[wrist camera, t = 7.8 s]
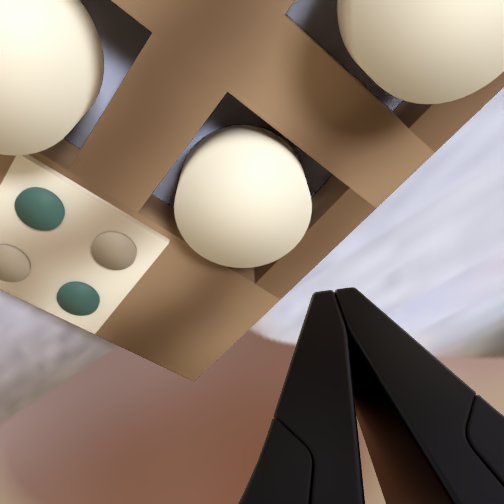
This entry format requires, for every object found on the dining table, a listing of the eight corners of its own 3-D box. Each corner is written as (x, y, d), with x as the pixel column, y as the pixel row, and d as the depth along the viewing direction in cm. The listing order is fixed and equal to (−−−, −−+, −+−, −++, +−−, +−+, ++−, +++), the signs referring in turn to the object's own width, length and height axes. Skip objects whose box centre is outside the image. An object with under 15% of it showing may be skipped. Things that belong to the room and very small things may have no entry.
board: (600, -48, 16) (655, -46, 14) (196, 353, 26) (193, 389, 24) (133, -732, 9) (102, -935, 7) (-162, 172, 19) (-210, 200, 17)
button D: (133, 35, 15) (118, 50, 13) (60, 158, 17) (38, 186, 15) (-33, -92, 13) (-80, -97, 11) (-90, 66, 15) (-138, 83, 13)
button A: (542, -19, 14) (589, -12, 12) (411, 115, 16) (435, 137, 14) (433, -160, 12) (470, -178, 10) (302, 13, 14) (312, 24, 12)
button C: (329, 175, 19) (340, 201, 17) (252, 257, 21) (254, 287, 19) (229, 97, 17) (229, 116, 15) (156, 196, 19) (147, 223, 18)
